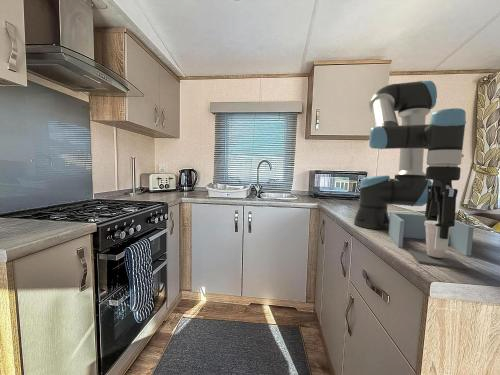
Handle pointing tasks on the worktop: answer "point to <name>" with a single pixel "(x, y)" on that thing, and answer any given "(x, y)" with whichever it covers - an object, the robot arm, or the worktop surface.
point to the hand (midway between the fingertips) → (436, 245)
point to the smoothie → (432, 239)
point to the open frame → (415, 228)
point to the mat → (437, 259)
